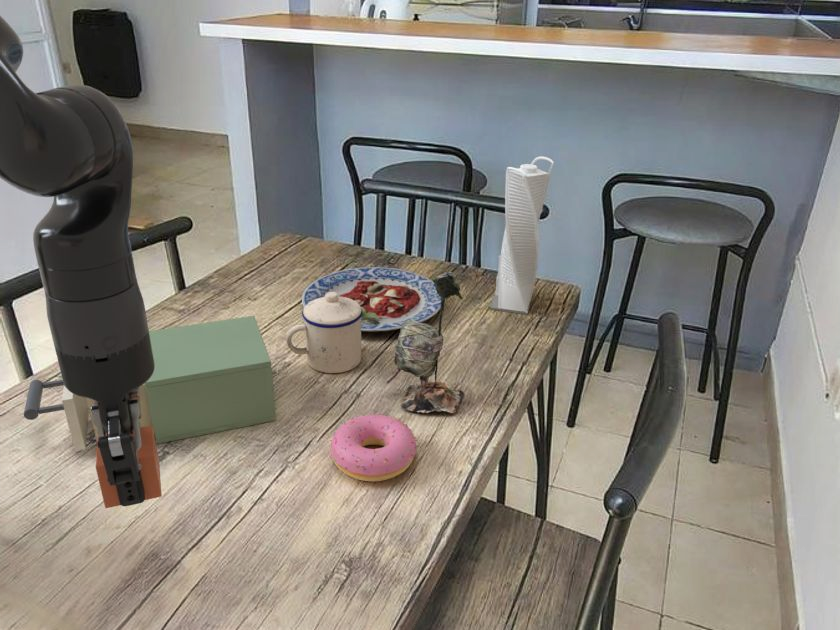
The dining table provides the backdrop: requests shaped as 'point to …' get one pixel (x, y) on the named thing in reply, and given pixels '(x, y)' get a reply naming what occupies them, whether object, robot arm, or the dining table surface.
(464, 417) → the dining table surface
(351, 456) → the doughnut
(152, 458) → the block
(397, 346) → the stone figurine
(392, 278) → the ceramic plate
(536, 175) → the skyscraper
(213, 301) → the dining table surface
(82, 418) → the drawer
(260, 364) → the cabinet
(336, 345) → the teacup with lid
